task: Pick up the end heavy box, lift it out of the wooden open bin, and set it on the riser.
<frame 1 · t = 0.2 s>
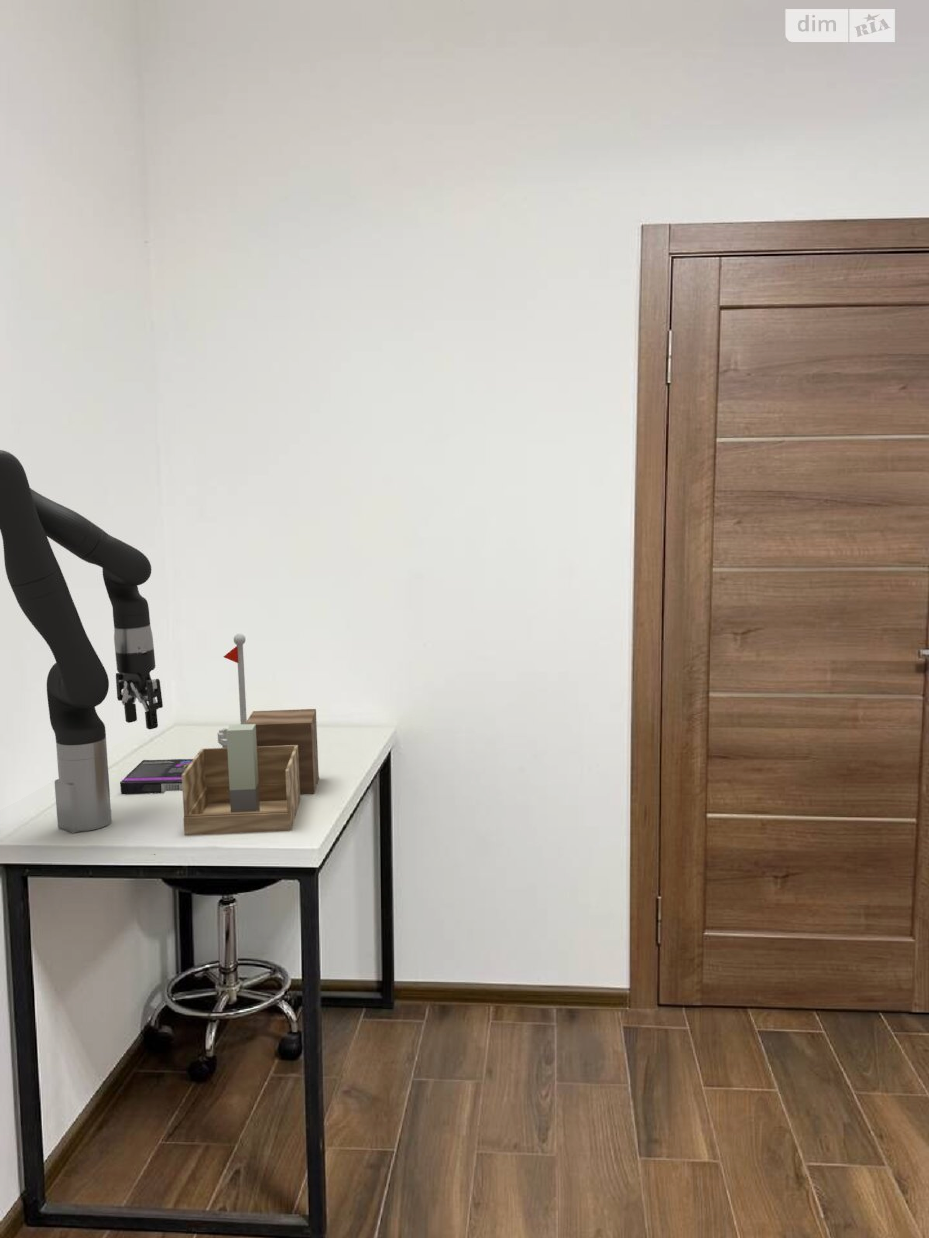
hand: (141, 725, 211), 18 cm above the table, tool pointing down, fingers open, 8 cm apart
box: (163, 783, 233), on the table
flag stand: (245, 752, 258), on the table
riser: (284, 788, 225), on the table
end heavy box: (245, 815, 205), resting on wooden open bin
wooden open bin: (245, 817, 205), on the table
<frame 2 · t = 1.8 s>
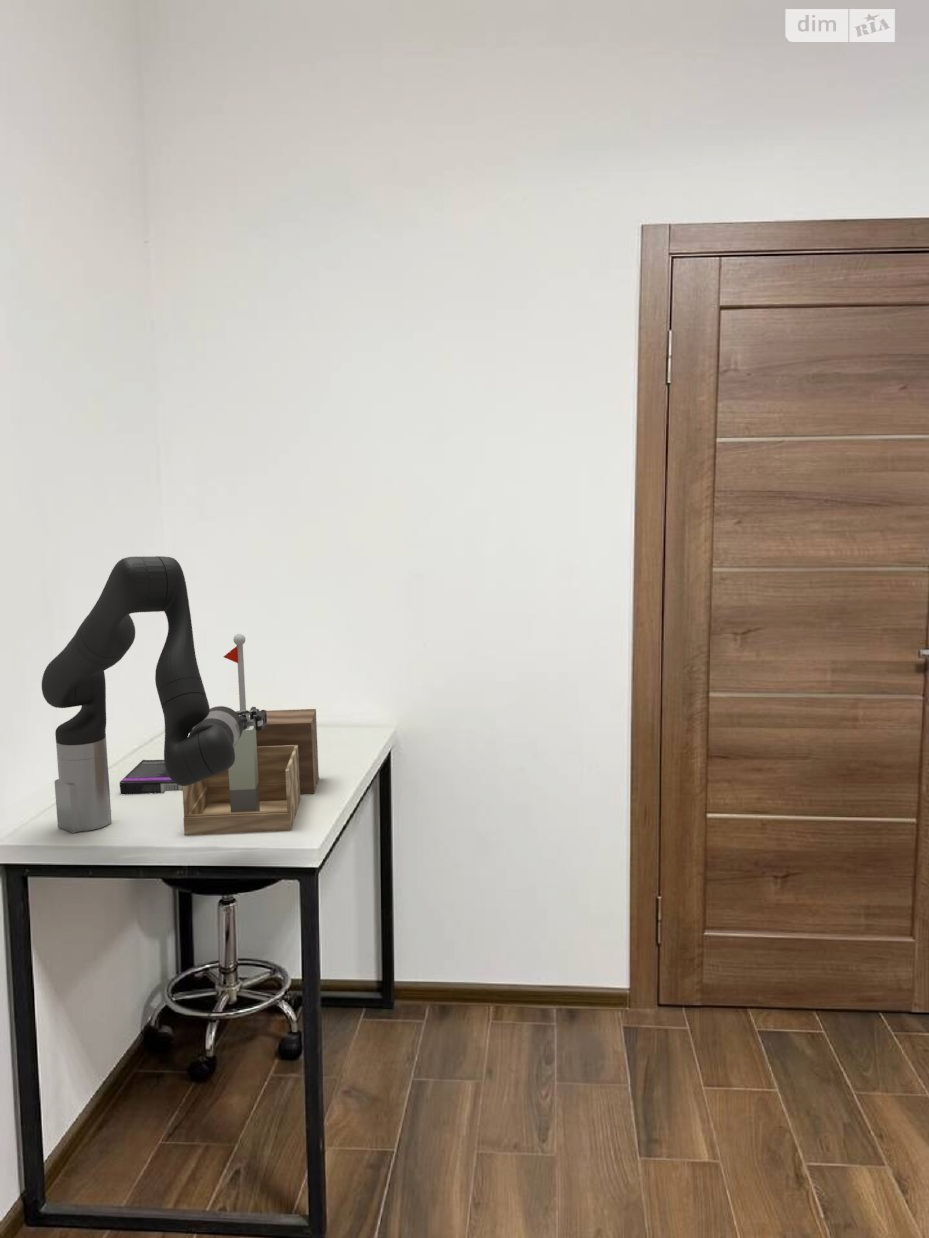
hand: (231, 713, 190), 24 cm above the table, tool horizontal, fingers open, 8 cm apart
nothing on the table moved.
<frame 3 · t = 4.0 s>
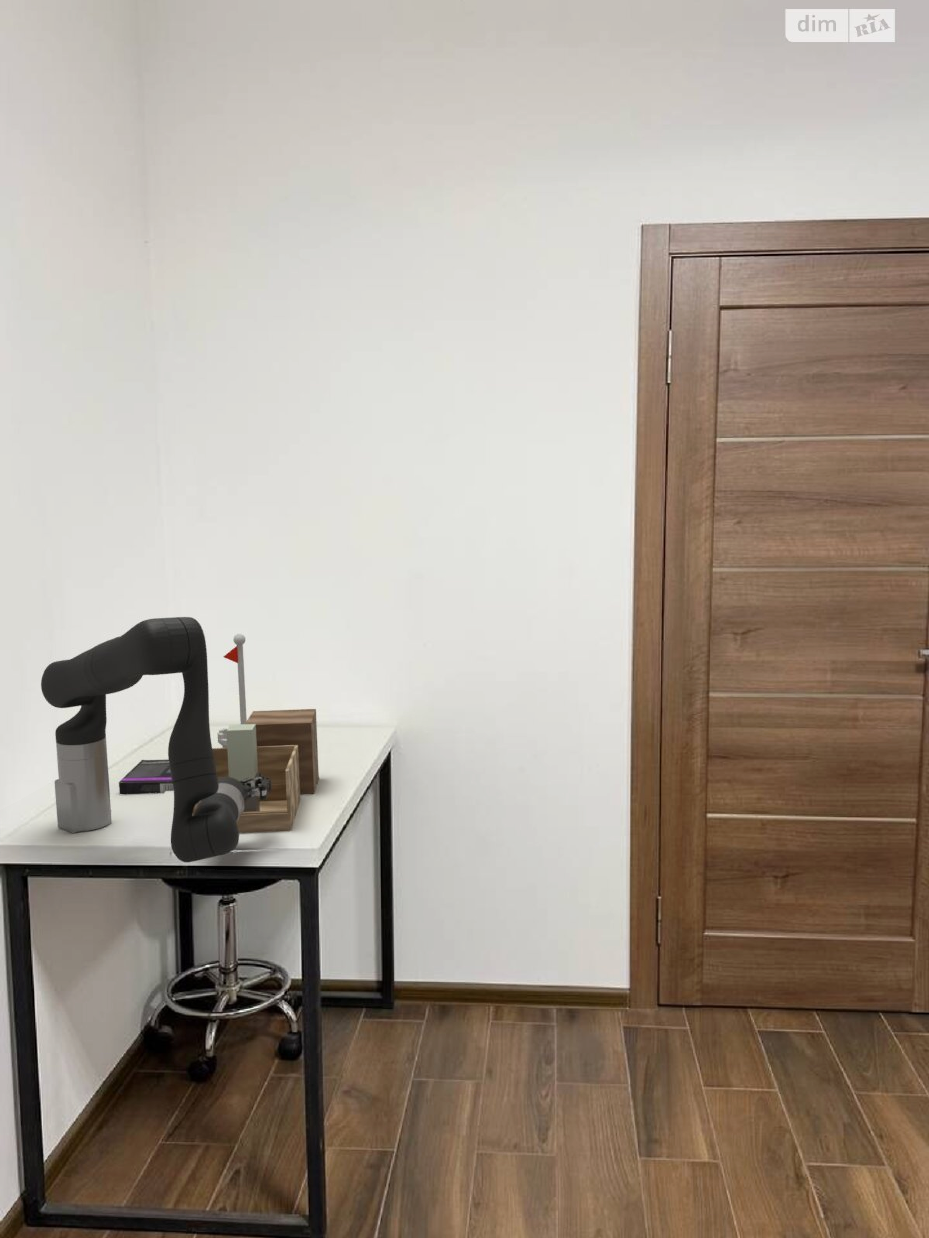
hand: (236, 778, 195), 10 cm above the table, tool horizontal, fingers open, 8 cm apart
nothing on the table moved.
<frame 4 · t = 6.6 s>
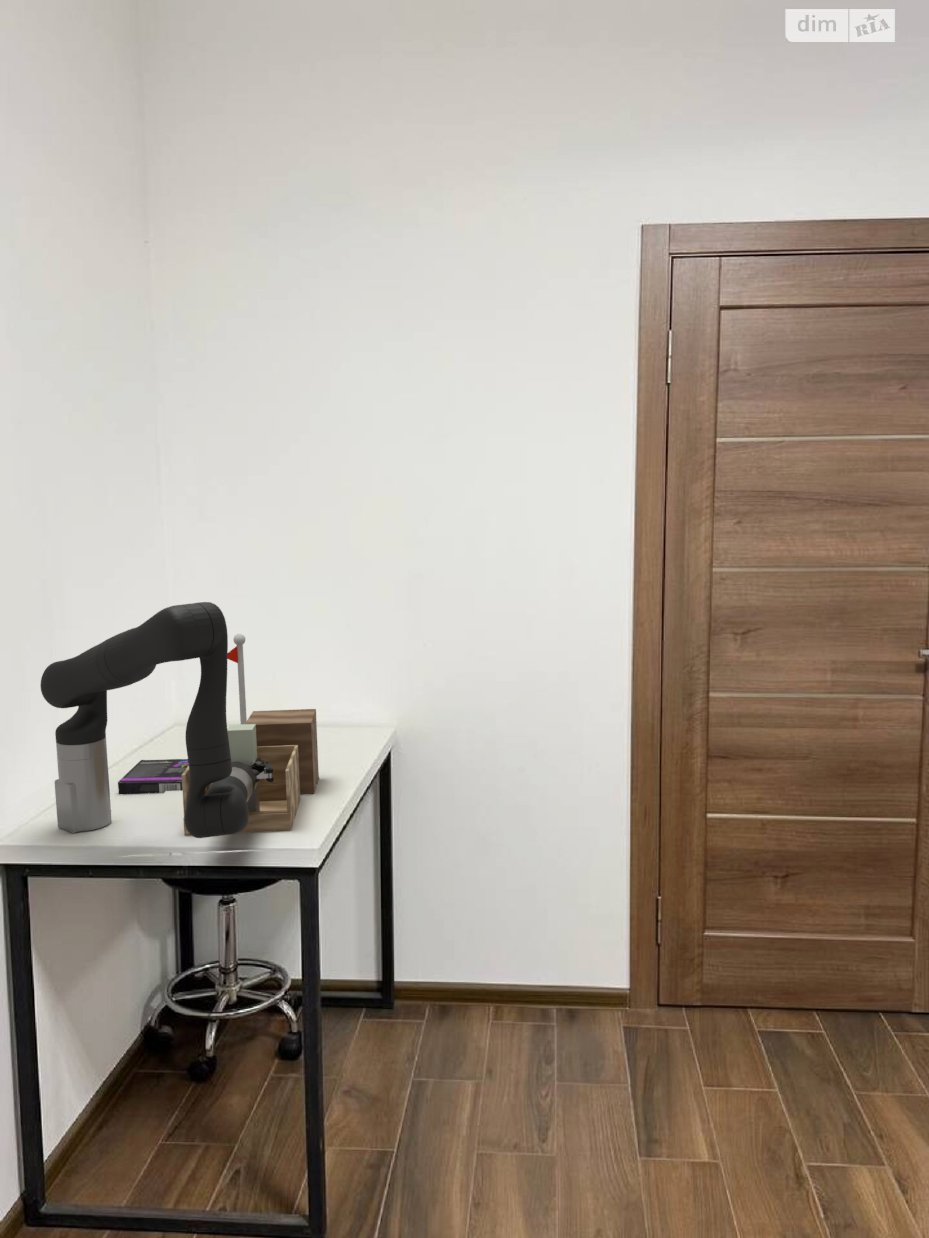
hand: (244, 763, 206), 10 cm above the table, tool horizontal, fingers closed on end heavy box, 5 cm apart
end heavy box: (245, 815, 205), resting on wooden open bin, touching gripper
everything else where it was.
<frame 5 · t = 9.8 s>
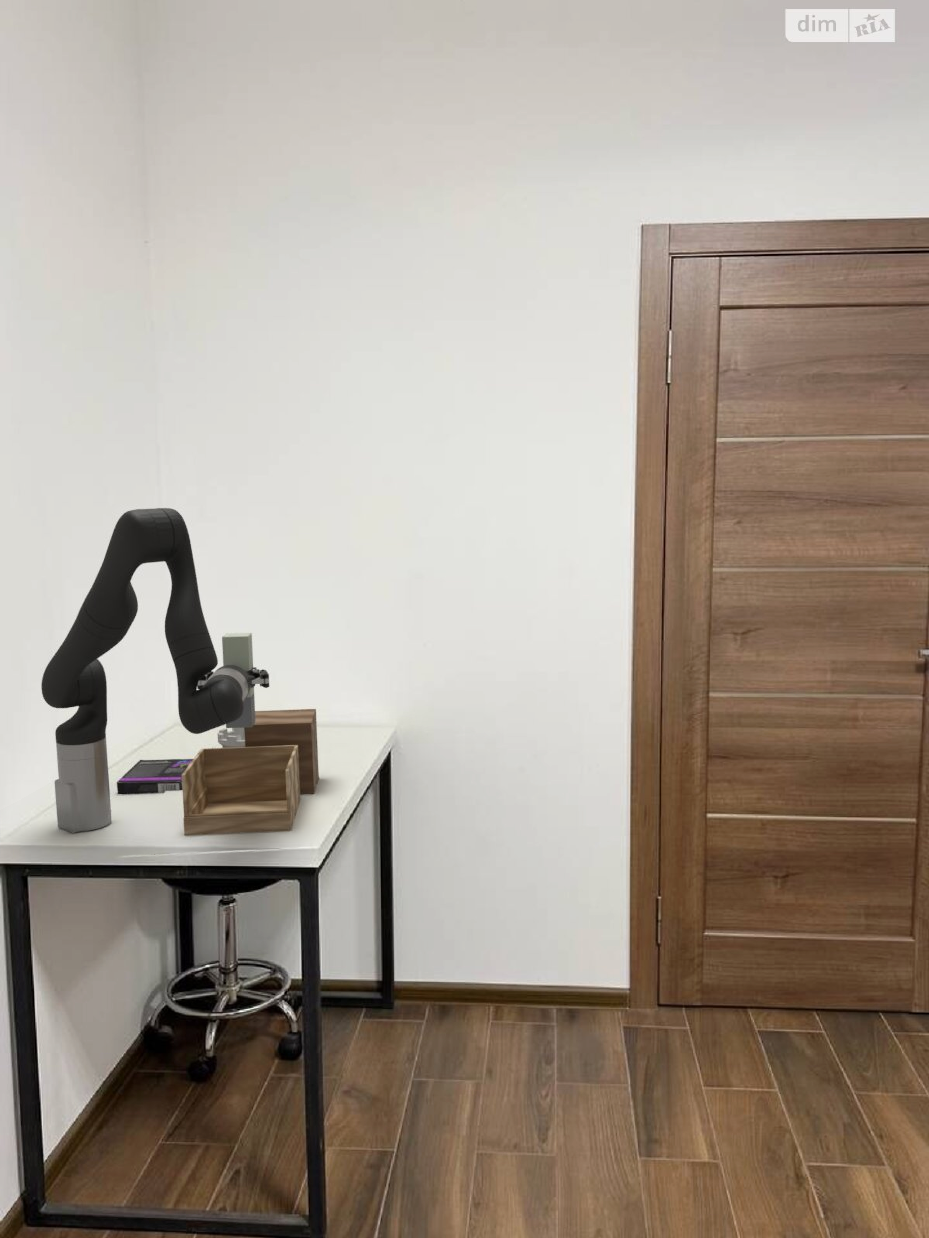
hand: (240, 672, 204), 29 cm above the table, tool horizontal, fingers closed on end heavy box, 5 cm apart
end heavy box: (240, 724, 202), point 19 cm above the table, touching gripper
everything else where it was.
when the fingers open (27 cm above the table, at t = 13.4 s): end heavy box stays where it is, resting on riser.
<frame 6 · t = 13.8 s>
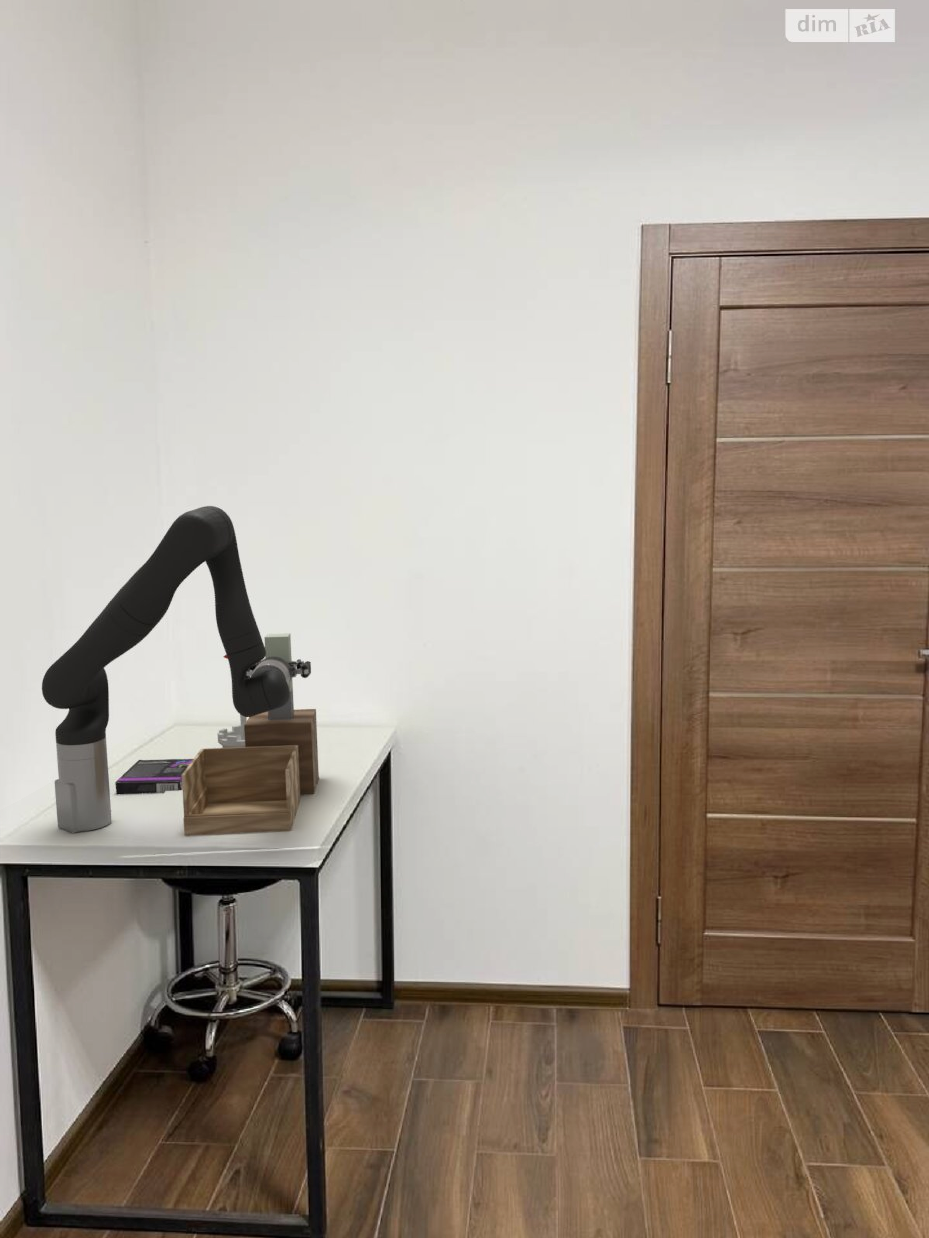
hand: (279, 664, 223), 27 cm above the table, tool horizontal, fingers open, 8 cm apart
end heavy box: (281, 716, 222), point 16 cm above the table, touching riser
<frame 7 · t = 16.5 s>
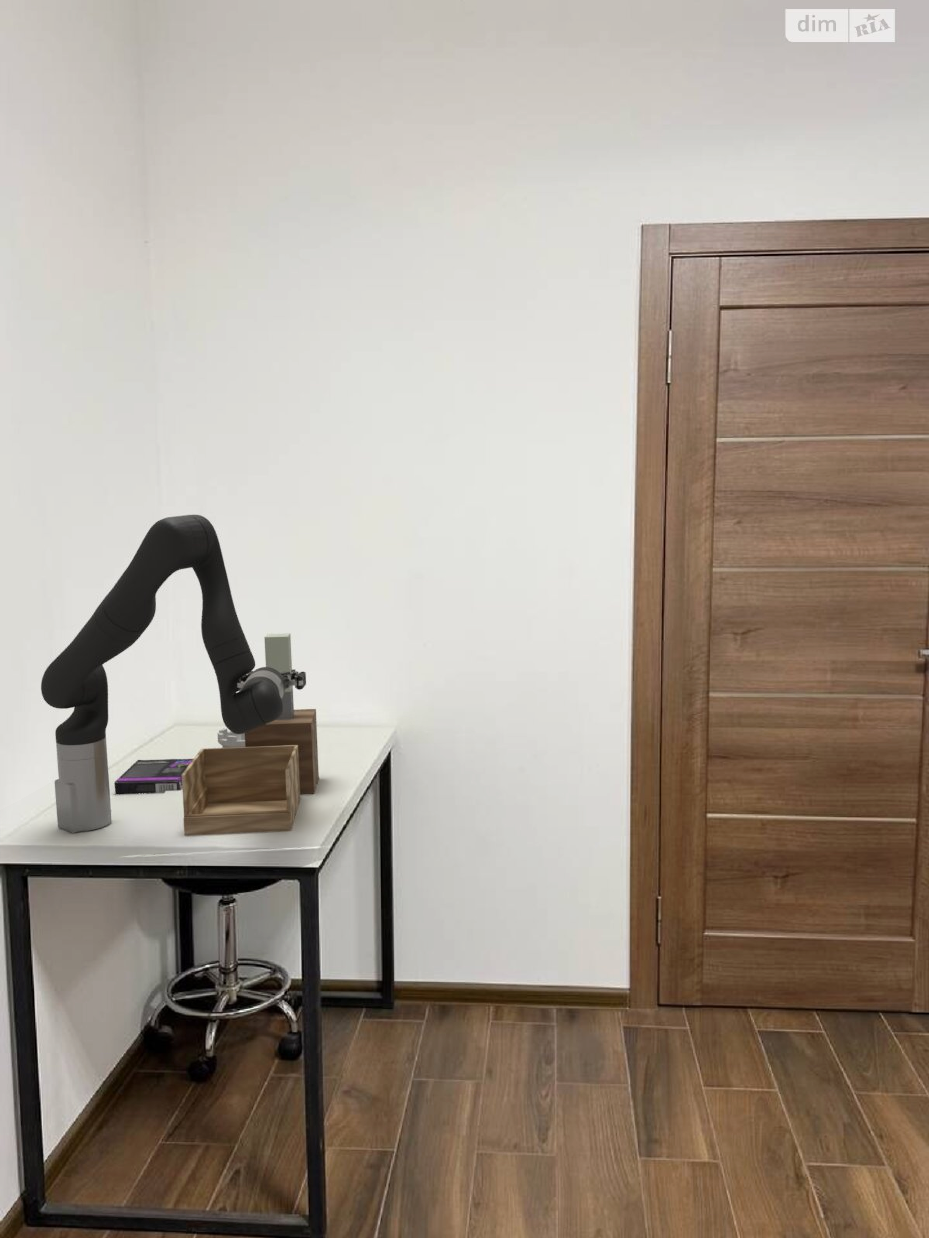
hand: (272, 675, 210), 27 cm above the table, tool horizontal, fingers open, 8 cm apart
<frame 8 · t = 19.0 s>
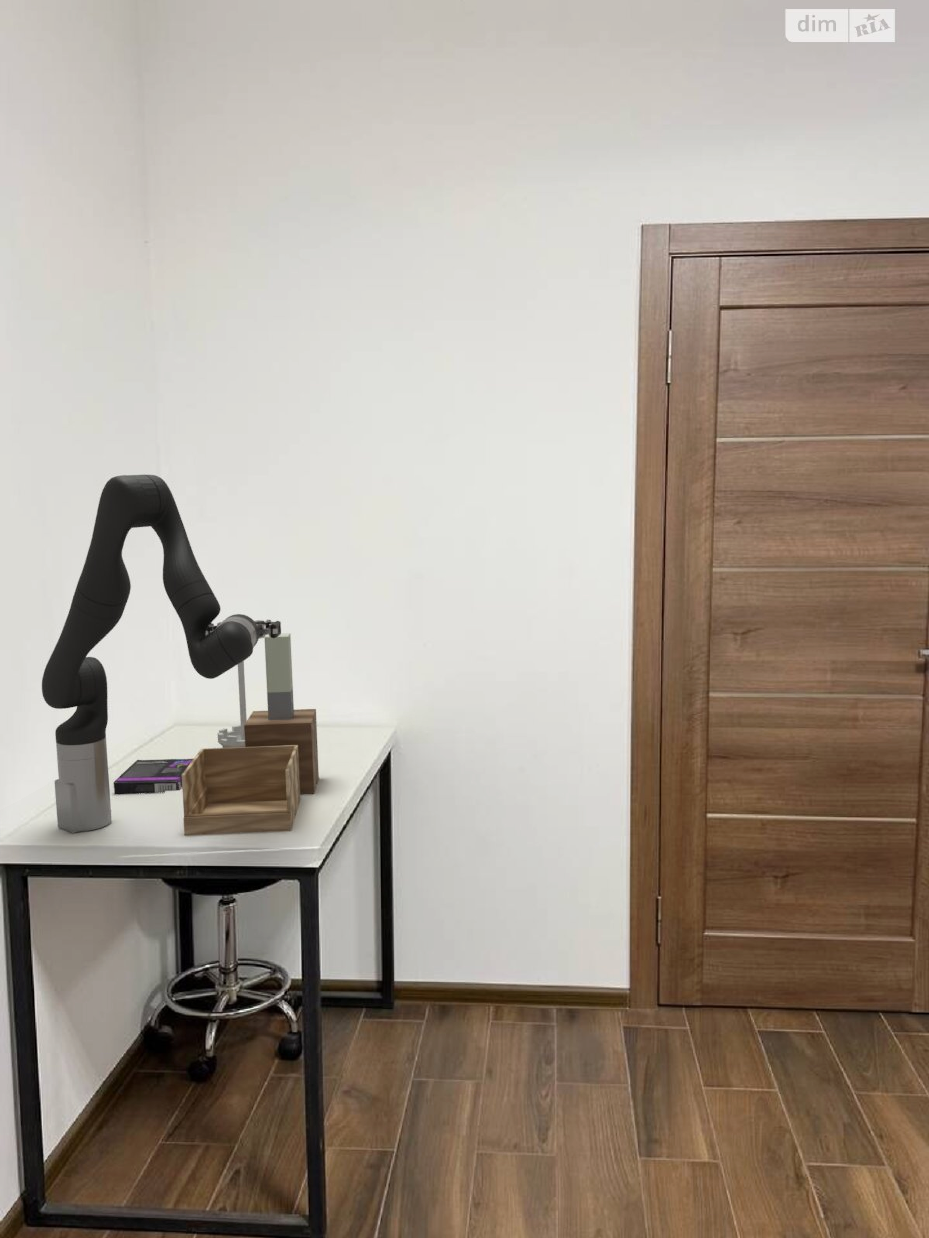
hand: (247, 625, 206), 38 cm above the table, tool horizontal, fingers open, 8 cm apart
at the end: end heavy box inside the target area on the riser (0.2 cm from its centre), point 16.0 cm above the riser's base; end heavy box tilted 0°; the gripper is holding nothing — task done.
